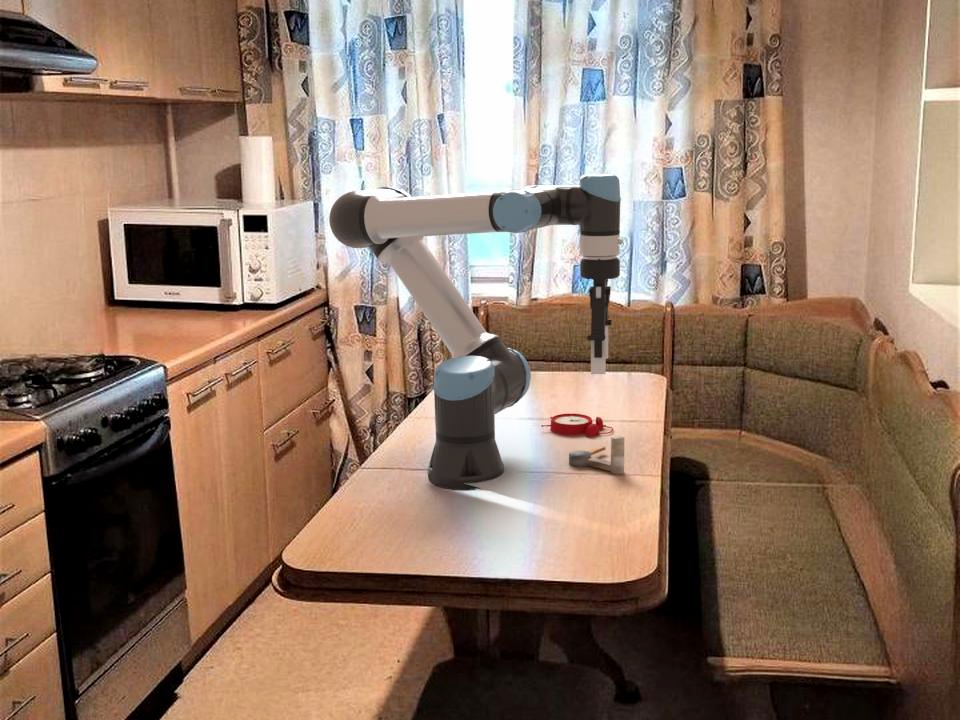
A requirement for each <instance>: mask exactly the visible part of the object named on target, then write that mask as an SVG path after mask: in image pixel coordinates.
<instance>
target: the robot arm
mask: <svg viewBox="0 0 960 720" xmlns="http://www.w3.org/2000/svg"><path fill="white" fill-rule="evenodd" d="M621 201H622V198H621V185H620V178H619V177H618V176H617V175H615V174H610V173H609V174H605V173H604V174H601V173H600V174H585V175H581V176H580V177H579V184H578V185H577V184H576V185H554V184H553V185H552V184H549V185H548V184H547V185H546V184H535V185H527V186H525V187H524V188H522V189H519V188H518V189H510V190H500V191H499V190H498V191H497V190H495V191H485V192H484V191H483V192H469V193H457V194H456V193H454V194H443V195H429V196H427V195H426V196H416V197H415V196H413V197H412V195H411V194H410V193H408V192H407V191H405V190H402V189H400V188H398V187H397V188H395V187H388V186H382V187H377V188H373V189H363V190H362V189H361V190H353V191H349V192H346V193H344V194H342V195H341V196H339V198H337V199H336V201H334V203H333V205H332V207H330V208H331V209H330V212H329V218H328V219H329V221H328V222H329V227H330V230H331V233H332V234H333V236H334V237H335V239H336V240H337V241H338V242H340V243H341V244H342V245H344V246H346V247H349V248H352V249H366V248H369V249H370V251H371V252H372V253H373V254H374V256H375V257H376V259H377V261H378V262H380V263H383V264H389V265H390V266H391V268H392V269H393V272H395V274H396V275H397V277H398V278H399V280H400V281H401V282H402V284H403V286H404V287H405V288H406V290H407V292H408V293H409V294H410V296H411V297H412V298H413V300H414V301H415V303H416V304H417V306H418V307H419V308H420V310H421V311H422V313H423V314H424V317H426V318H427V320H428V321H429V324H431V326H432V327H433V329H434V330H435V332H436V333H437V335H438V336H439V339H441V341H442V343H444V345H445V346H446V347H447V349H448V350H449V352H450V354H451V355H452V358H449V359H446V360H444V361H442V362H441V363H440V364H438V365H437V367H436V368H435V370H434V372H433V373H434V374H433V375H434V376H433V377H434V378H433V379H434V380H433V384H432V385H433V387H432V388H433V395H434V397H433V399H434V417H435V418H434V419H435V420H434V423H435V424H434V425H435V443H434V446H433V449H432V452H431V456H430V461H429V464H428V466H427V478H428V481H429V482H430V483H431V484H433V485H435V486H437V487H440V488H444V489H450V490H459V491H460V490H476V489H480V487H478V486H475V485H471V484H477V483H484V482H488V481H491V480H494V479H497V478H499V477H500V476H502V475H503V474H504V473H505V464H504V462H503V460H502V457H501V453H500V449H499V447H498V444H497V441H496V432H495V431H496V430H495V428H496V426H495V425H496V424H495V422H496V421H495V419H496V418H495V417H496V416H495V415H497V414H498V413H500V412H501V411H504V410H505V409H507V408H508V409H509V408H511V407H513V406H514V405H515V404H516V403H518V402H519V401H520V400H522V399H523V397H525V395H526V394H527V392H528V390H529V388H530V385H531V379H532V374H531V369H530V365H529V363H528V361H527V359H526V358H525V356H524V355H523V354H522V353H520V352H519V351H517V350H515V349H513V348H511V347H506V345H505V343H504V342H503V341H502V339H501V338H500V337H499V335H498V334H494V333H489V332H487V330H486V329H485V328H484V325H482V323H481V322H480V320H479V319H478V318H477V316H476V315H475V313H474V312H473V310H472V309H471V307H470V306H469V304H468V303H467V302H466V300H465V299H464V298H463V295H462V294H461V293H460V292H459V290H458V288H457V287H456V286H455V284H454V283H453V282H452V280H451V278H450V277H449V276H448V274H447V273H446V271H445V270H444V268H443V267H442V266H441V264H440V263H439V261H438V260H437V259H436V257H435V256H434V254H433V253H432V251H431V250H430V249H429V246H427V244H426V242H425V241H424V237H432V236H434V237H435V236H436V237H437V236H449V235H450V236H451V235H467V234H468V235H471V234H472V235H473V234H489V233H510V234H520V233H527V232H529V231H531V230H535V229H541V228H545V227H549V226H570V225H571V226H579V231H580V232H579V255H580V256H582V257H581V258H580V261H579V264H580V265H579V267H580V269H579V275H580V278H582V279H586V280H593V285H591V286H589V288H588V289H589V290H588V295H589V299H590V300H589V301H590V302H589V307H590V308H589V309H590V310H591V320H590V321H591V323H590V329H591V330H590V334H589V335H587V341H590V375H606V369H607V368H606V367H607V366H606V363H607V362H606V359H607V360H608V359H609V326H612V322H613V321H612V319H610V317H609V305H610V299H611V298H610V297H611V289H612V288H611V285H609V286H608V283H609V280H615V279H617V278H620V276H621V275H620V274H621V259H620V258H619V257H617V256H619V255H620V253H621V249H620V245H623V244H624V240H623V239H622V238H620V237H621V236H620V234H621V230H620V229H621Z"/></svg>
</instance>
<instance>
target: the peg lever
mask: <svg viewBox="0 0 960 720" xmlns="http://www.w3.org/2000/svg"><path fill="white" fill-rule="evenodd" d="M605 450H606V446H604V445H601V446H599V447H596V448H594V449H591V450H589V451H587V450H583V449H582V450H572V451H570V452H568V464H569V465H570V466H572V467H577V468H582V467H583V468H584V467H588V466H589V467H592V468H596V469H601V470H605V471H608V472H610V474H613V475H617V476H619V475H623V474H625V437H624V436H621V435H613V436H611V437H610V461H609V460H605V459H602V458H601V459H600V458H597V457H592V456H593V455H594V456H595V455H596V454H598V453H600V452H603V451H605Z"/></svg>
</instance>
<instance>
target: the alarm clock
mask: <svg viewBox="0 0 960 720" xmlns="http://www.w3.org/2000/svg"><path fill="white" fill-rule="evenodd" d="M540 427H541V428H543V427H550V429H549V430H550V432H552V433H553V434H557V435H561V436H582V435H583V436H584V435H585V437H586V438H594V437H596V436H598V435H600V434H601V435H606V434H608V435H609V434H611V433H612V432H613V431H614V428H613V427H611V426H607V425H606V424H604V421H603V418H602V417H601V416H596V418H595V423H593V418H592V417H591V416H588V415H587V414H581V413H561V414H555V415H554V416H550V424H546V425H545V424H544V425H543V424H541V426H540ZM604 428H607V429H611V430H609V431H607V432H600V431H603V430H604Z"/></svg>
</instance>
